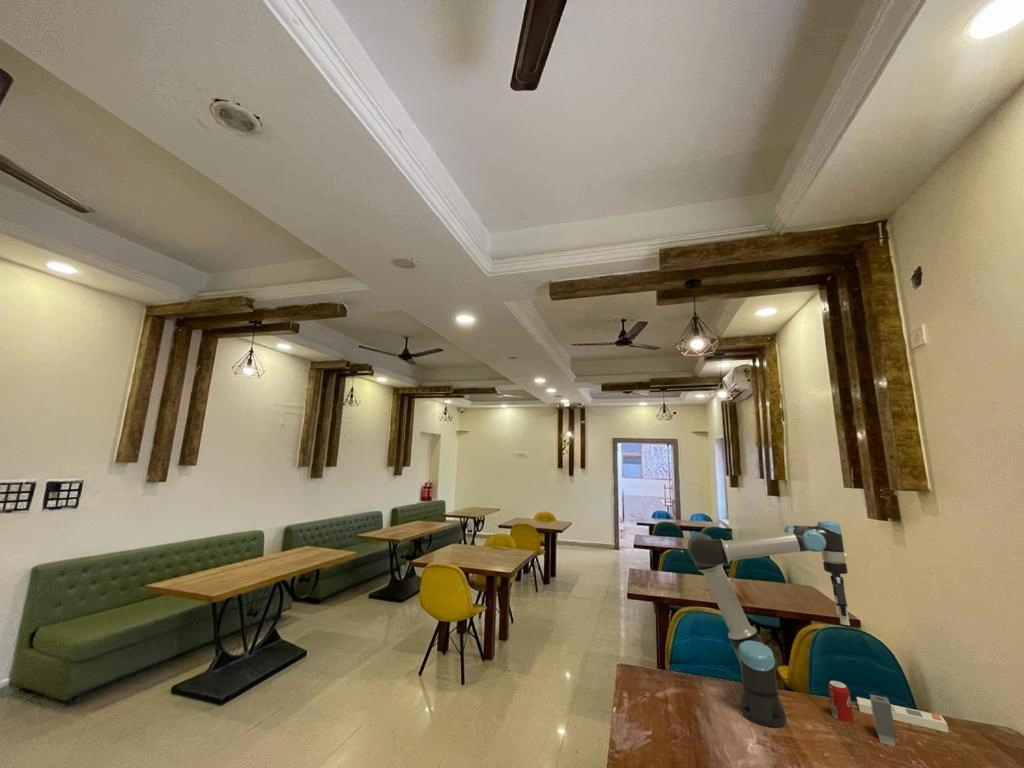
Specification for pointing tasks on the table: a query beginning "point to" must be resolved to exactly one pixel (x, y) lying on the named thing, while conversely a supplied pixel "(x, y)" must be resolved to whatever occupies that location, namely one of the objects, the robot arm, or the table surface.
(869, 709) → the power strip
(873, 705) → the charger
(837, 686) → the beverage can
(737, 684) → the table surface
